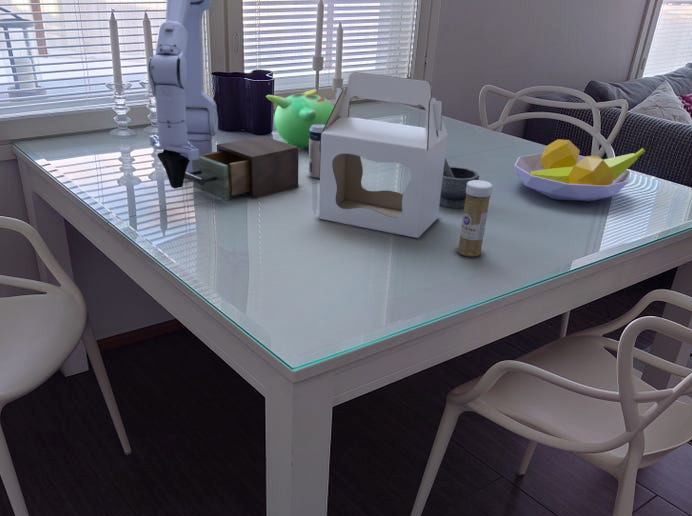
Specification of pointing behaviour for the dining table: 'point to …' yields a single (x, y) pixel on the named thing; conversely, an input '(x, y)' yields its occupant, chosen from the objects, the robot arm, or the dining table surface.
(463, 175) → the mortar and pestle
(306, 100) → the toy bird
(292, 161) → the cabinet
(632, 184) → the dining table surface
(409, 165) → the gable box
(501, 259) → the dining table surface
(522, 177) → the fruit bowl
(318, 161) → the spice jar
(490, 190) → the sprinkles bottle
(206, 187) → the green-fronted drawer
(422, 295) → the dining table surface
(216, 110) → the robot arm
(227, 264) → the dining table surface
